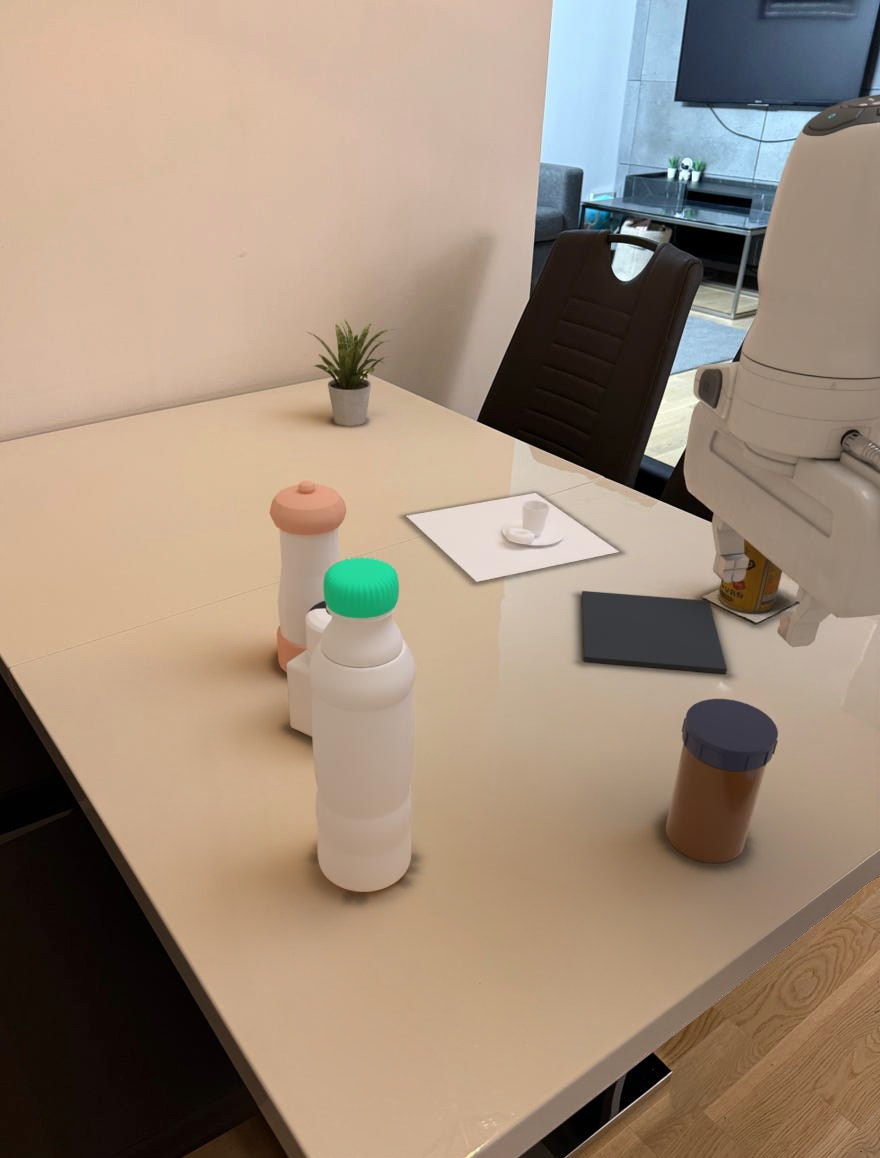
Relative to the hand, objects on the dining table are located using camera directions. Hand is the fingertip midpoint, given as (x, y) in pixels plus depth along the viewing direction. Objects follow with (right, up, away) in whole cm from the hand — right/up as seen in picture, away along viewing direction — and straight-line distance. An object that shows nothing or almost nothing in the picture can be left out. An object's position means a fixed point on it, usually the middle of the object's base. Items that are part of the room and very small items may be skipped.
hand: (759, 607), depth 64 cm
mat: (+2, -1, +37) cm, 37 cm away
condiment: (+16, +2, +44) cm, 46 cm away
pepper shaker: (-33, -4, +32) cm, 46 cm away
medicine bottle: (-29, -10, +23) cm, 39 cm away
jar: (0, -18, +11) cm, 21 cm away
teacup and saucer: (-10, +11, +58) cm, 60 cm away
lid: (0, -9, +5) cm, 10 cm away
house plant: (-31, +34, +94) cm, 105 cm away
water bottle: (-27, -19, +8) cm, 34 cm away
